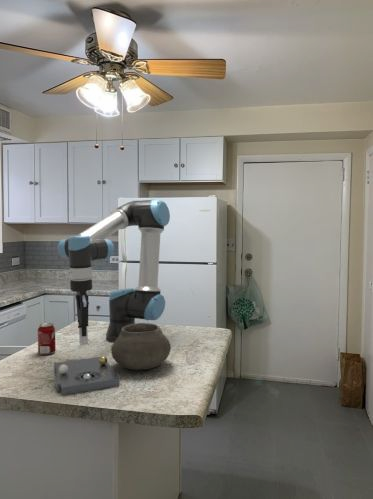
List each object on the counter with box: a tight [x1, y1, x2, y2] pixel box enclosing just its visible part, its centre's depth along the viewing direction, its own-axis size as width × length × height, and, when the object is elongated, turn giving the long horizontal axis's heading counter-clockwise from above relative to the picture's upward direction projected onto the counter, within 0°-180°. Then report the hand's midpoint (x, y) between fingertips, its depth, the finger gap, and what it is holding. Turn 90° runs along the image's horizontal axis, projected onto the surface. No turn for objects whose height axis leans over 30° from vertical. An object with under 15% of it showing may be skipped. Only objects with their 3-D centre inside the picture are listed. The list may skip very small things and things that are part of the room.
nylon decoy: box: [59, 364, 68, 374], centre depth 130 cm, size 3×3×3 cm
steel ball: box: [82, 374, 92, 379], centre depth 128 cm, size 3×3×3 cm
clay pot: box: [110, 322, 172, 371], centre depth 143 cm, size 22×21×15 cm
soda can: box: [37, 322, 56, 356], centre depth 159 cm, size 7×7×12 cm
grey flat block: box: [53, 356, 121, 397], centre depth 133 cm, size 24×20×2 cm
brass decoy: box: [99, 355, 108, 365], centre depth 139 cm, size 3×3×3 cm
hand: (83, 344), depth 138 cm, fingers closed
